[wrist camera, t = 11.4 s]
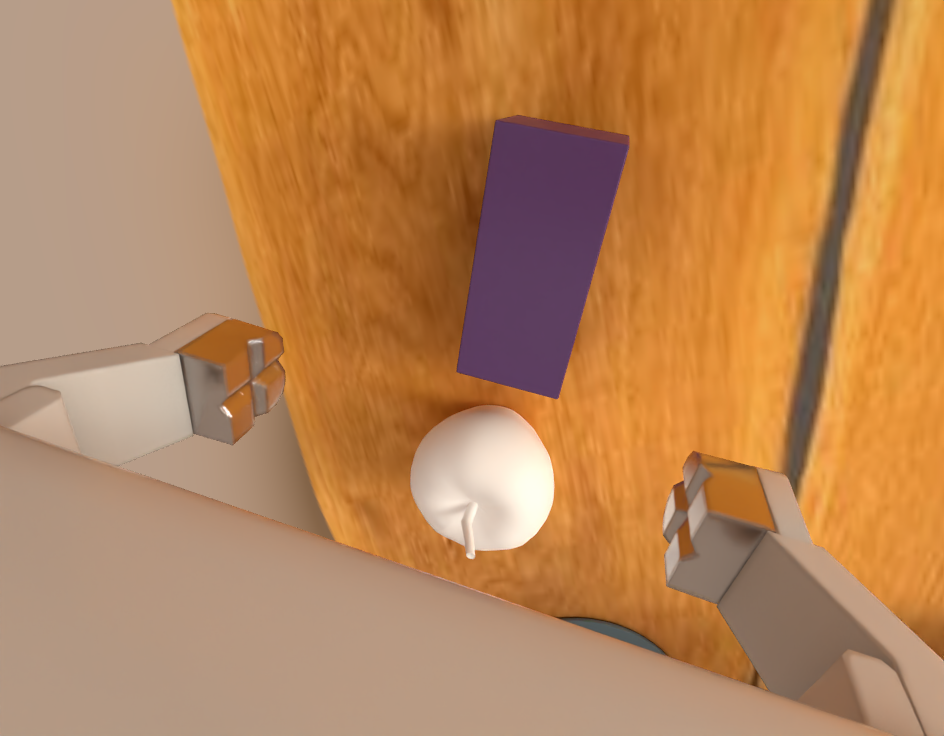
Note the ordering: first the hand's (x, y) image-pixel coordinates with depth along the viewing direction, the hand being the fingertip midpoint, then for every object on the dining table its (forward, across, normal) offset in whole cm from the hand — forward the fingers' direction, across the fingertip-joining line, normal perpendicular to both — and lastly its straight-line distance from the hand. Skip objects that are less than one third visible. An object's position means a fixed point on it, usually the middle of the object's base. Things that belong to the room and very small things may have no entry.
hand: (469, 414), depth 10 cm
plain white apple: (+14, +1, +12) cm, 19 cm away
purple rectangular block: (+15, 0, +1) cm, 15 cm away
